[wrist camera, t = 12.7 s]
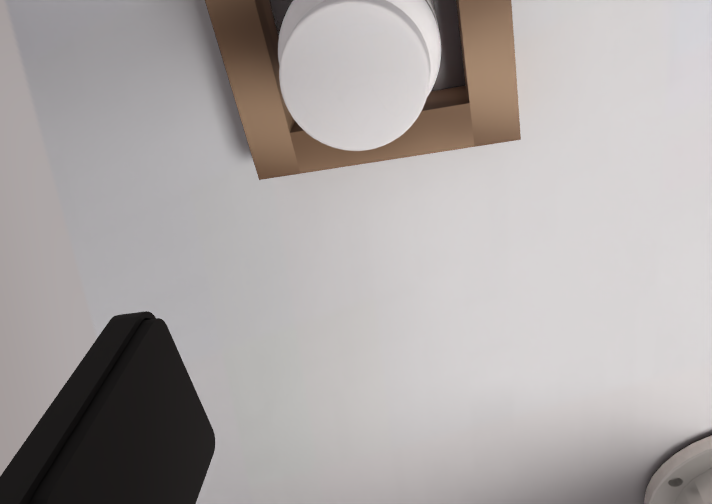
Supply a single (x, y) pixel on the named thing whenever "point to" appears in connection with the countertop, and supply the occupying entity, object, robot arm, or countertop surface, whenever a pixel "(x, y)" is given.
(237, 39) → the walnut dock
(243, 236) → the countertop surface
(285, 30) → the pill bottle
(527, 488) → the countertop surface
